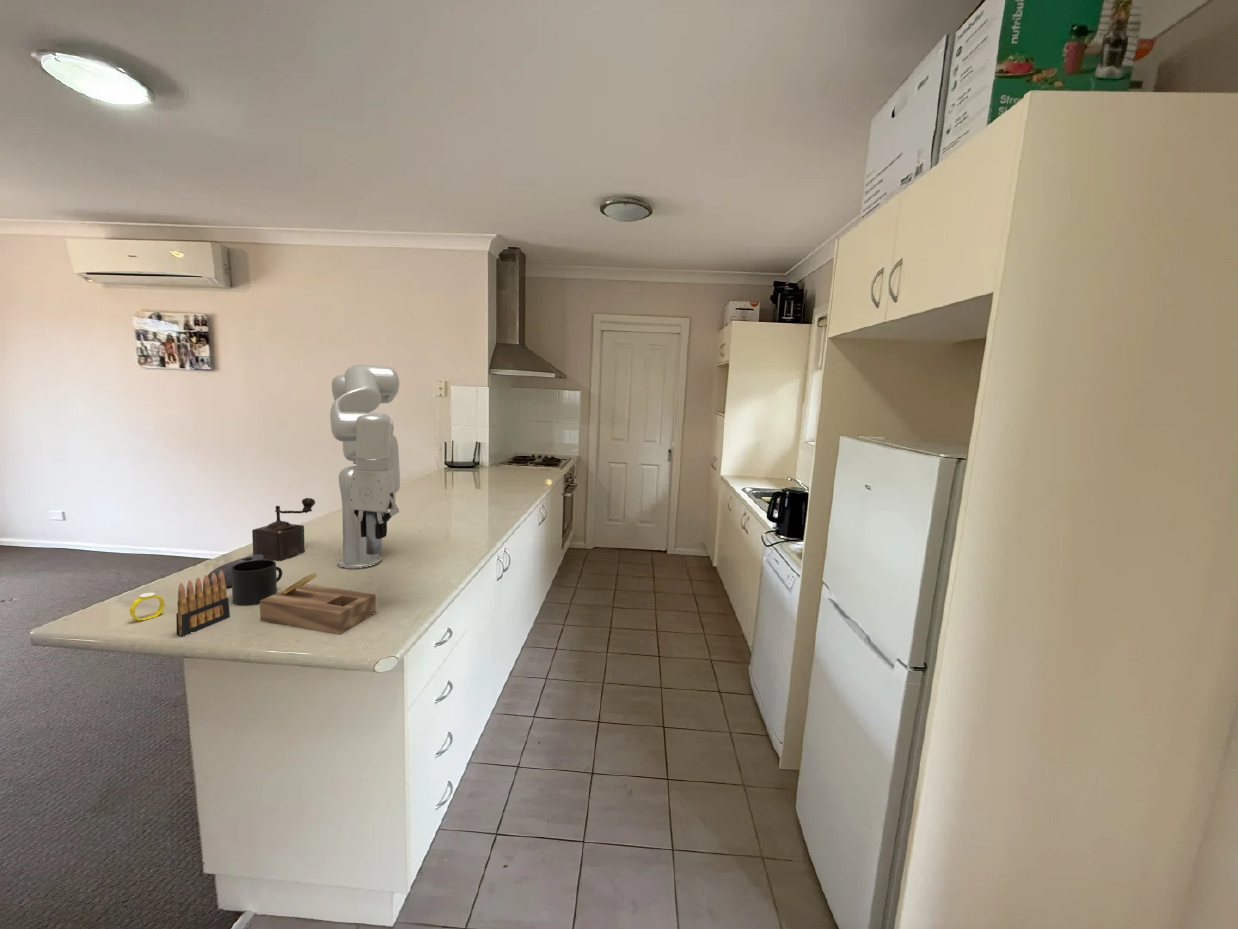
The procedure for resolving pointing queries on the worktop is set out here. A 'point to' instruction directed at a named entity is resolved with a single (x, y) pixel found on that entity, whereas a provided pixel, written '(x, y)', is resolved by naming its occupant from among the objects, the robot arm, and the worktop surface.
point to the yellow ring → (143, 597)
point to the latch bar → (299, 583)
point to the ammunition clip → (202, 604)
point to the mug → (254, 581)
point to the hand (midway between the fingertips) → (373, 536)
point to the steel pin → (372, 534)
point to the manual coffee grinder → (281, 536)
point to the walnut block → (318, 608)
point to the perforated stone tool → (227, 567)
